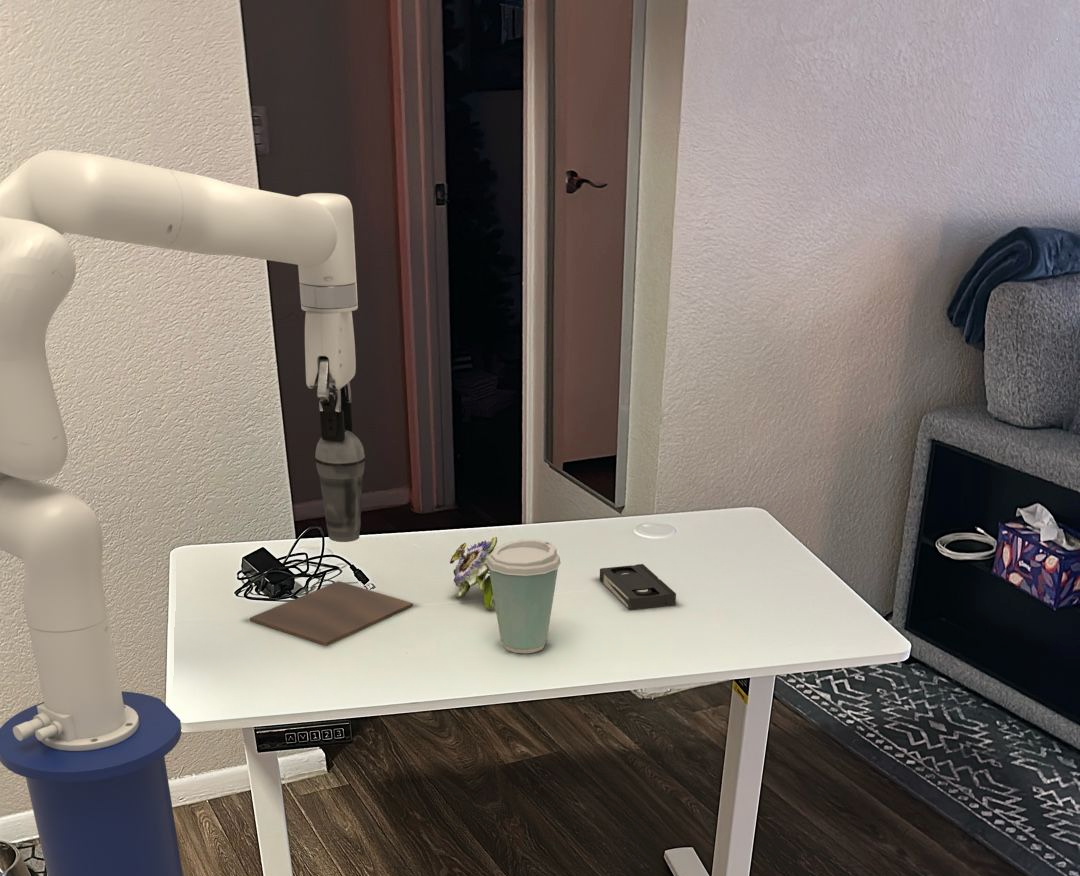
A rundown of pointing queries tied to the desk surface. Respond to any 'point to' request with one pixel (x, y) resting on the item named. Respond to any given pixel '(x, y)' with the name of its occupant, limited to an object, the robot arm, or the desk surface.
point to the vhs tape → (637, 587)
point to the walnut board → (331, 613)
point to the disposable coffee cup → (523, 592)
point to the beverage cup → (341, 485)
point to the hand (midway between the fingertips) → (337, 434)
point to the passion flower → (474, 569)
